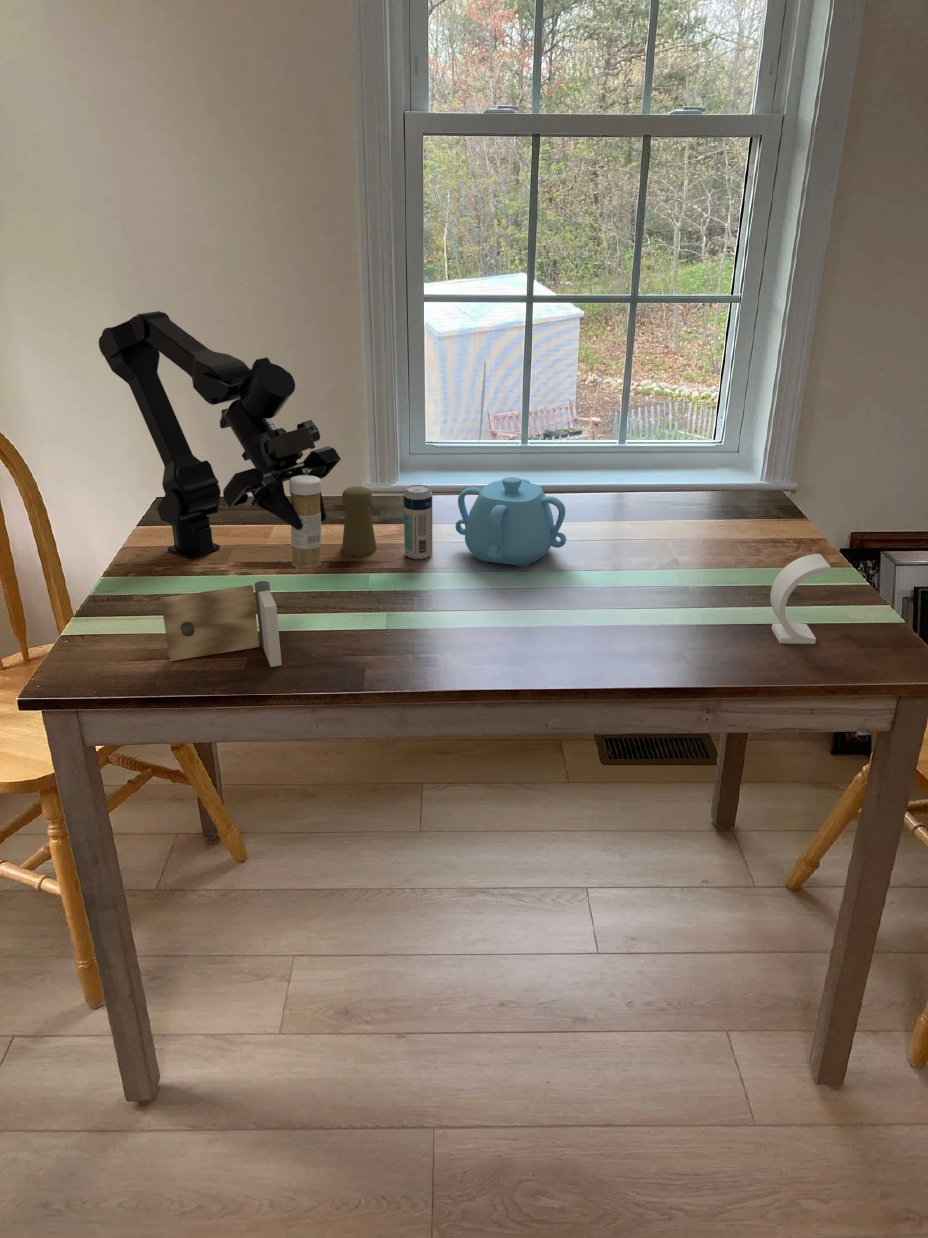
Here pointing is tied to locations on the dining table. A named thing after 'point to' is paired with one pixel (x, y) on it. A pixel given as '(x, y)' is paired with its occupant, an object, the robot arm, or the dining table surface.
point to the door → (210, 622)
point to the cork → (358, 522)
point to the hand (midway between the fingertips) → (312, 524)
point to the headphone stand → (784, 587)
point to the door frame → (268, 623)
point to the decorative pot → (510, 522)
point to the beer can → (418, 522)
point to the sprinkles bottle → (306, 521)
